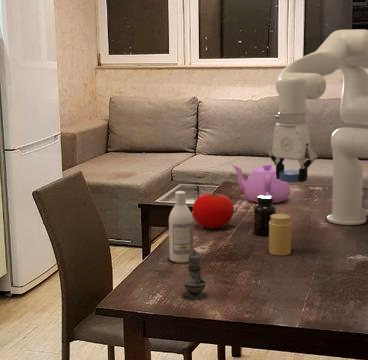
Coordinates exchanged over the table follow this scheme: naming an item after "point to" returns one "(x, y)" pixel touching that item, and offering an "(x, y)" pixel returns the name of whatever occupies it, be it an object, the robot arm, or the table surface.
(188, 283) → the dark grey figurine
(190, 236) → the bath foam
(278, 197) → the teapot
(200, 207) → the tomato
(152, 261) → the table surface
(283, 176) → the lid
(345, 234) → the table surface
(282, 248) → the jar
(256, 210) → the supplement bottle
